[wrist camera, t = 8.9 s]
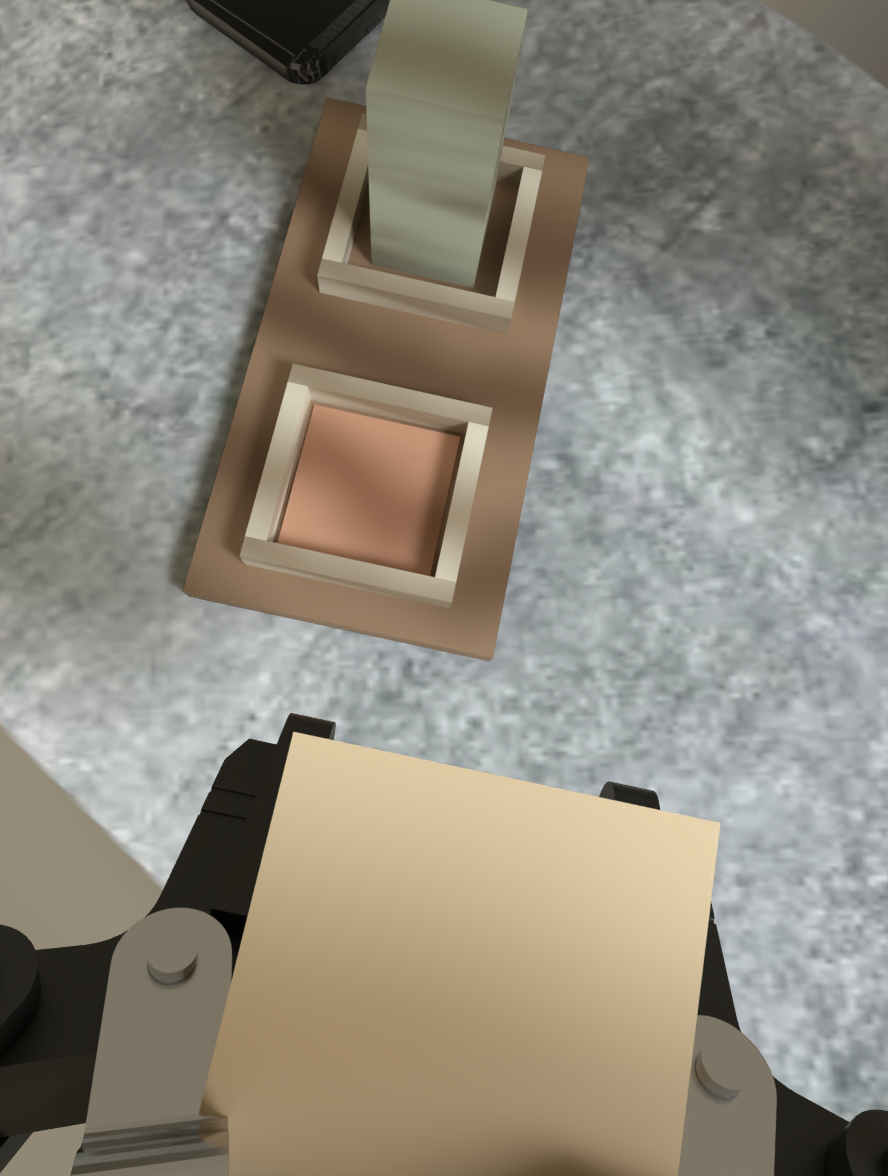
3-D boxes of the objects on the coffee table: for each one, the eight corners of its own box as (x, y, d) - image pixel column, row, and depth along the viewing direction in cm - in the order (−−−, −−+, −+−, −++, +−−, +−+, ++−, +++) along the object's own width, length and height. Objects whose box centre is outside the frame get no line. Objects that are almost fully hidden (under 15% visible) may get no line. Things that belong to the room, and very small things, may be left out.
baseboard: (328, 115, 36) (305, -124, 27) (584, 173, 36) (655, -42, 27) (189, 596, 31) (97, 518, 21) (489, 661, 31) (535, 612, 21)
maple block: (344, 751, 17) (293, 731, 8) (548, 795, 17) (721, 823, 8) (292, 973, 16) (169, 1231, 7) (510, 1019, 16) (657, 1331, 7)
